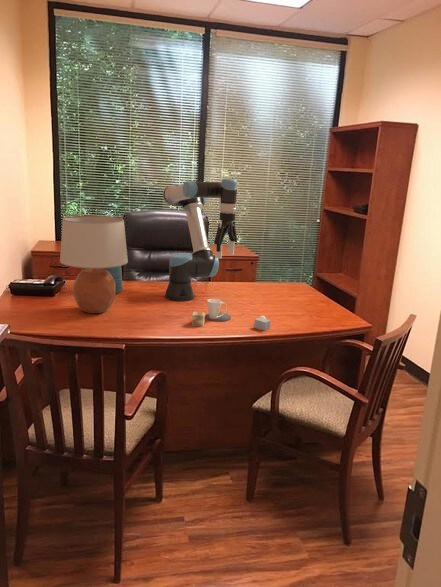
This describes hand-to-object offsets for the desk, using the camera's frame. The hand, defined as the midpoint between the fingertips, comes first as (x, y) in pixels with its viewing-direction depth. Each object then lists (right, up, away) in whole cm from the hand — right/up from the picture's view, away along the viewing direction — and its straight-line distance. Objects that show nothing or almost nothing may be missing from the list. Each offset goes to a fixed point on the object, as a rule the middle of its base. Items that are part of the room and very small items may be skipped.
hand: (225, 256), depth 235 cm
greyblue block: (+16, -34, -19) cm, 42 cm away
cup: (-4, -29, -9) cm, 31 cm away
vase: (-64, -17, +28) cm, 72 cm away
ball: (+17, -32, -14) cm, 39 cm away
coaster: (-3, -29, -7) cm, 31 cm away
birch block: (-12, -32, -18) cm, 39 cm away
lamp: (-61, -27, -8) cm, 67 cm away
